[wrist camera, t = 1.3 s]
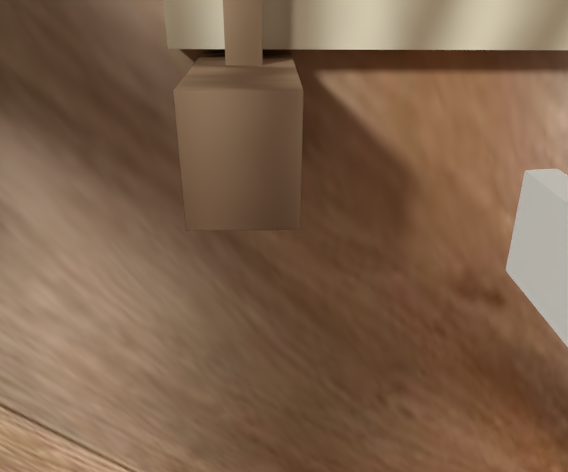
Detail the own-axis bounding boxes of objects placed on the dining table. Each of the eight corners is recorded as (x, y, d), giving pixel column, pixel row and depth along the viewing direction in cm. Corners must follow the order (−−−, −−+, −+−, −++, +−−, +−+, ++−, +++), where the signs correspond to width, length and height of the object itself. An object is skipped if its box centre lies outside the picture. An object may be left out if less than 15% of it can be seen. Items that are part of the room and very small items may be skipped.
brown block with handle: (208, 156, 31) (186, 230, 22) (192, -96, 25) (152, -134, 16) (289, 156, 31) (300, 229, 22) (293, -95, 25) (309, -131, 16)
